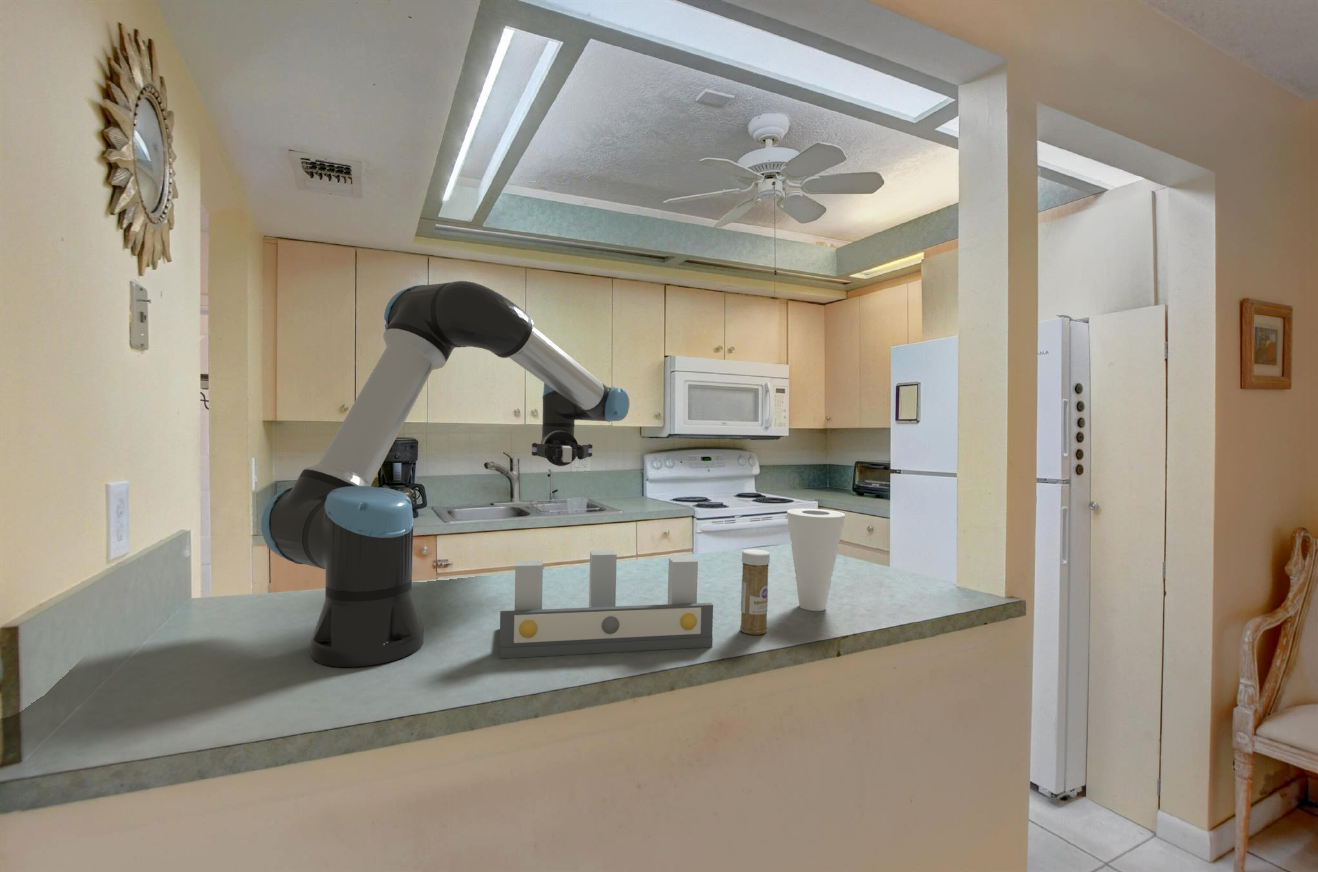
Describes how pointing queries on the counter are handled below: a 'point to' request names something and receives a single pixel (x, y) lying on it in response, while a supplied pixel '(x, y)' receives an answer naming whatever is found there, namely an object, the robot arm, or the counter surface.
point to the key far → (682, 580)
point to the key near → (528, 585)
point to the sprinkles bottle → (754, 591)
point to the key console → (604, 629)
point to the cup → (814, 553)
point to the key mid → (602, 579)
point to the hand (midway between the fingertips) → (567, 455)
